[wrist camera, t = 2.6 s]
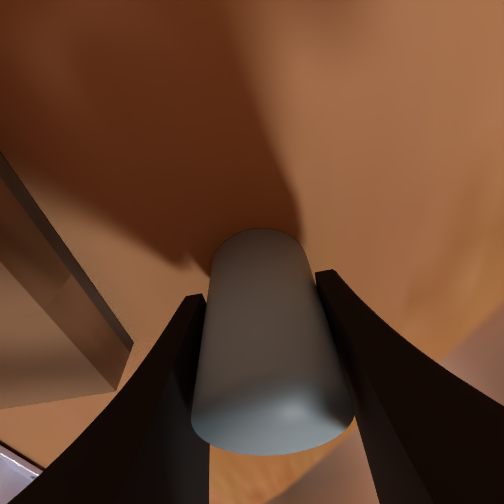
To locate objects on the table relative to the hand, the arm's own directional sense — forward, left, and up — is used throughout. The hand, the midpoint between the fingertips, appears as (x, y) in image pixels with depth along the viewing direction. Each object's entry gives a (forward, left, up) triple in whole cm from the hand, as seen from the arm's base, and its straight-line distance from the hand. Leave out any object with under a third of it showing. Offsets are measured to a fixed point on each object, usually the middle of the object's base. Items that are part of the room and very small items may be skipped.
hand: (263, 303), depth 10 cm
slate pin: (0, 0, -2) cm, 2 cm away
